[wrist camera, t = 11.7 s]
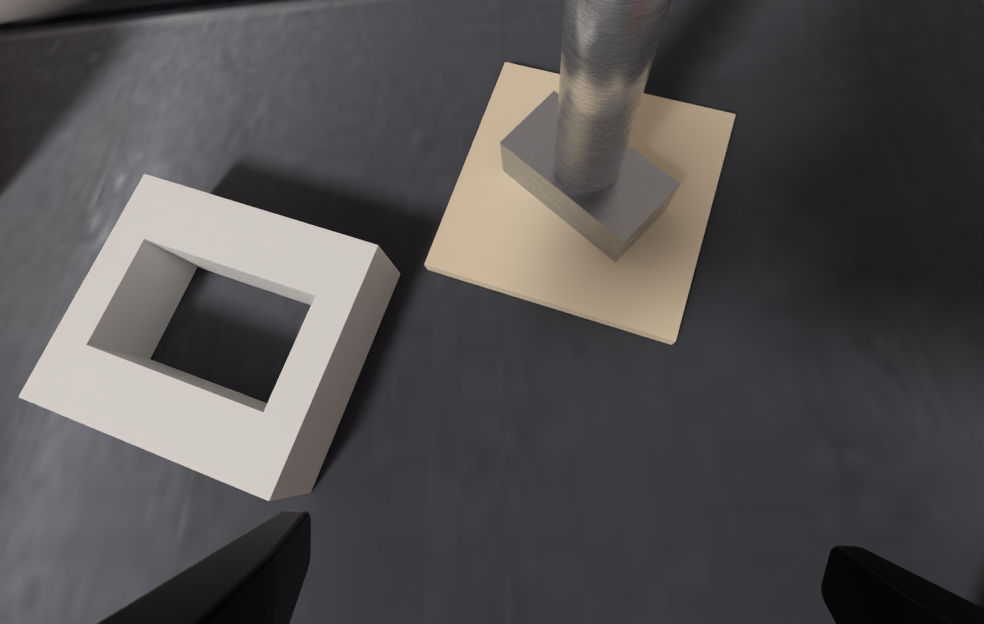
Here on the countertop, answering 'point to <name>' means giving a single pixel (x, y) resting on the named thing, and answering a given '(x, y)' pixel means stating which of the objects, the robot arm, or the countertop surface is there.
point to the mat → (560, 248)
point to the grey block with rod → (596, 127)
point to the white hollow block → (192, 400)
